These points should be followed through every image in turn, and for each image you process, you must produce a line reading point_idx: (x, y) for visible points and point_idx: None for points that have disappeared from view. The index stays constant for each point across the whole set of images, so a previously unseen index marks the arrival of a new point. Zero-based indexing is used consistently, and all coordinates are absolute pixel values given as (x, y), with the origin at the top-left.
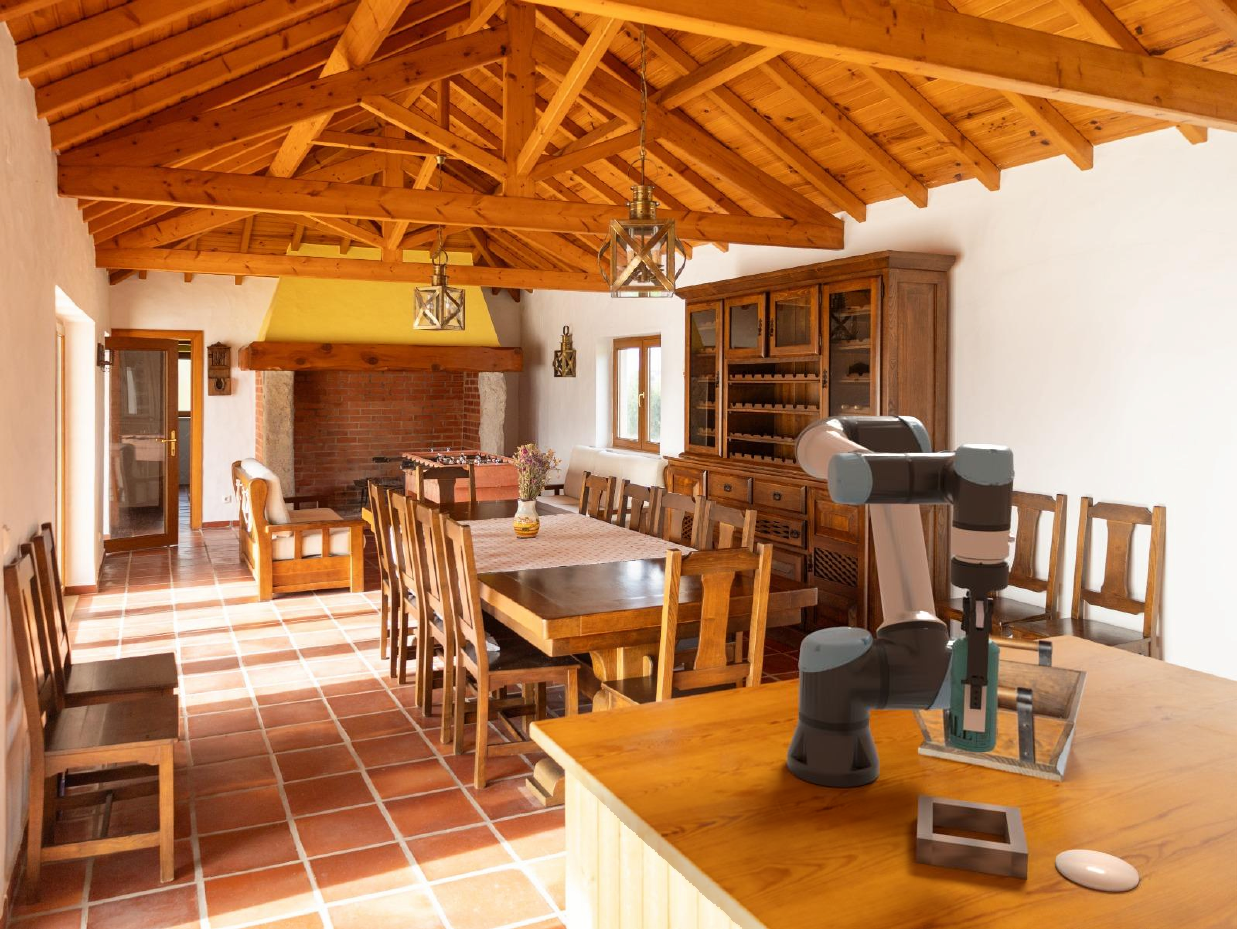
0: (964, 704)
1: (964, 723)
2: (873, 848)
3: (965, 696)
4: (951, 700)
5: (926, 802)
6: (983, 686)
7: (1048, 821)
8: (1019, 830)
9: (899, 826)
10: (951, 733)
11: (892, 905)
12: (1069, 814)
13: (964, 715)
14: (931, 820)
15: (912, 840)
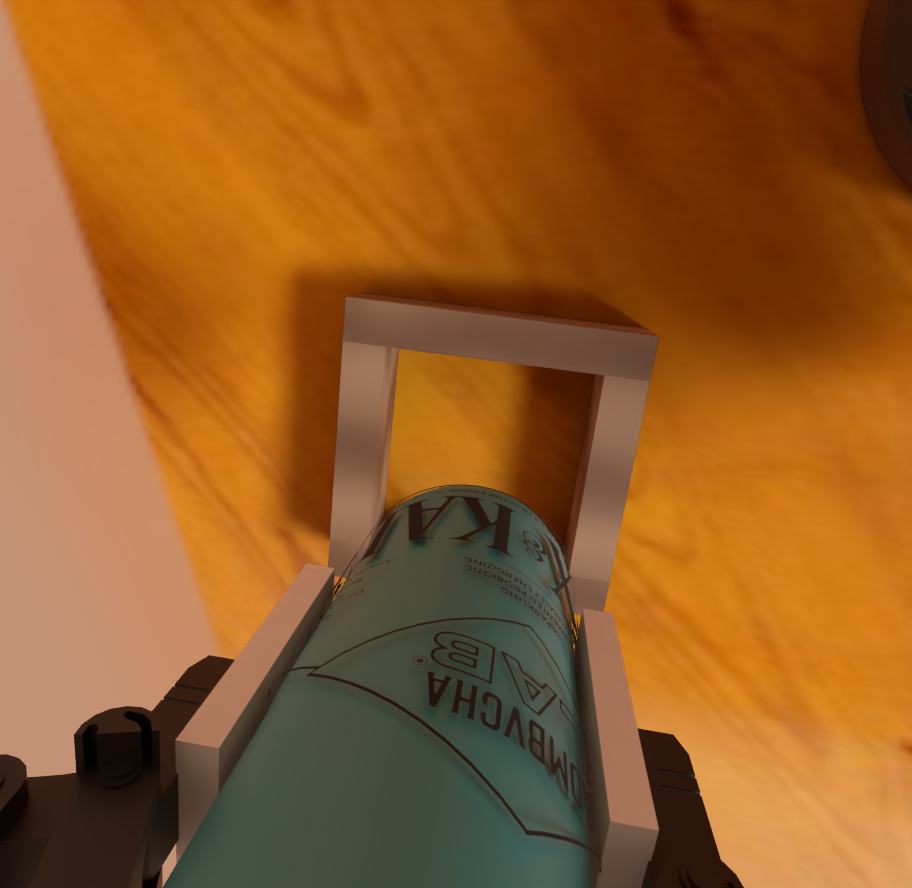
0: (252, 639)
1: (294, 583)
2: (418, 175)
3: (225, 676)
4: (412, 578)
5: (601, 355)
6: (180, 839)
7: (665, 667)
8: None
9: (574, 265)
10: (416, 502)
11: (134, 211)
12: (714, 726)
13: (277, 604)
14: (470, 354)
15: (490, 295)
